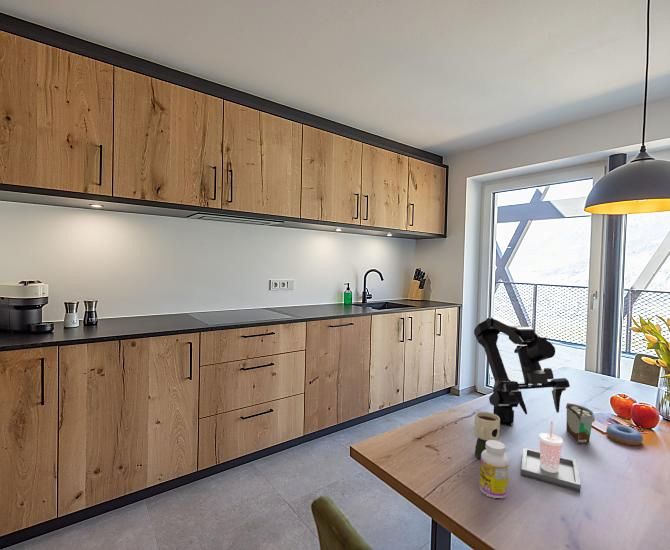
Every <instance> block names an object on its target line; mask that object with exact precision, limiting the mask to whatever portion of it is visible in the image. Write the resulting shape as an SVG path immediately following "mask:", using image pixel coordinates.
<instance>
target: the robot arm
mask: <svg viewBox="0 0 670 550" xmlns="http://www.w3.org/2000/svg"><path fill="white" fill-rule="evenodd" d="M500 333H502V334H504V335H506V336H508V340H510V341H511V342H512V343H513V344H514V345H517V346H516V347H515V349H514V351H513V352H514V354H517V355H518V359H519V364H520V369H521V372H522V377H523V381H524V383H519V382H518V381H516V380H511V379H509V376H508V374H507V371H506V368H505V365H504V362H503V359H502V356H501V353H500V350H499V347H498V345H497V343H498V339H499V334H500ZM473 334H474V337H475V339H476V340H477V342H478V343H479V345H481V347H482V348H483V349H484V351H485V352H484V353H485V356H486V357H487V358H486V359H487V361H488V364H489V366H490V367H489V368H490V371H491V374H492V377H493V380H494V384H493V387H492V394H491V395H490V396H489V397H488V399H489V401H488V402H489V404H490V405H492V406H493V412H492V413H493V414H495V415H497V416H499V418H500V425H504V426H509V427H512V425H513V423H514V421H515V420H514V419H515V410H514V409H513V408H518V406H520V409H522V411H523V413H524V414H525V415H528V410H527V407H526V405H525V402H524V398H523V394H522V391H521V390H529V389H530V390H531V389H545V388H551V389H552V390H551V395H552V399H553V403H554V405H553V406H554V409H555V411H556V413H560V404H561V397H562V393H563V392H565V391H566V390H567V389H568V388H570V387H571V385H570V381H569V380H568V379H567V378H566V377H561V378H554V373H553V370H552V368H551V367H545V368H542V366H541V364H540V362H541V361H544V360H549V359H551V358H553V357H554V356H555V354H556V347H555V346H554V344H553V343H551V342H550V341H549V340H547V337H546V336H540V335H538V333H537V332H536V331H535V329H534V328H533V327H530V326H522V325H516V324H514V323H513V322H510V321H508V320H505V319H504V318H502V317H501V316H489V317H487V318H486V319H485V320H484V321H482V322H480V323H478V324H477V325H476V327H475V328H474V329H473ZM548 380H550V381H548Z"/></svg>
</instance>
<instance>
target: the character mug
mask: <svg viewBox="0 0 670 550" xmlns="http://www.w3.org/2000/svg"><path fill="white" fill-rule="evenodd" d="M493 413H494V412H488V411H477V412H475V415H474V427H473V428H474V429H473V431H474V432H473V433H474V436H475V437H476V441H475V447H474V448H475V449H474V455H475V456H476V457H477V458H479V459H481V453H482V452H483V451H484V450H485V449H486V447H485V446H486V441H488V440H496V441H499V439H500V429H501V428H500V427H501V426H500V425H501V424H500V418H499V416H497V415H495V414H493Z"/></svg>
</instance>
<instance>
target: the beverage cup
mask: <svg viewBox="0 0 670 550" xmlns="http://www.w3.org/2000/svg"><path fill="white" fill-rule="evenodd" d="M553 423H554V421H553V420H550V429H549V430H550V432H548V433H547V432H541V433H539V434H538V439H539V451H540V467H541V468H542V469H543V470H545V471H548V472H552V473H556V472H558V469H559V462H560V456H561V451H562V446H563V444H564V439H563V438H562V437H560V436H559V435H556V434H554V433H553Z"/></svg>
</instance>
